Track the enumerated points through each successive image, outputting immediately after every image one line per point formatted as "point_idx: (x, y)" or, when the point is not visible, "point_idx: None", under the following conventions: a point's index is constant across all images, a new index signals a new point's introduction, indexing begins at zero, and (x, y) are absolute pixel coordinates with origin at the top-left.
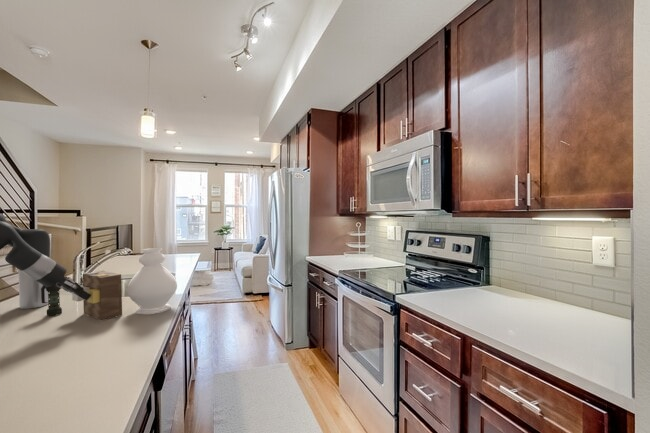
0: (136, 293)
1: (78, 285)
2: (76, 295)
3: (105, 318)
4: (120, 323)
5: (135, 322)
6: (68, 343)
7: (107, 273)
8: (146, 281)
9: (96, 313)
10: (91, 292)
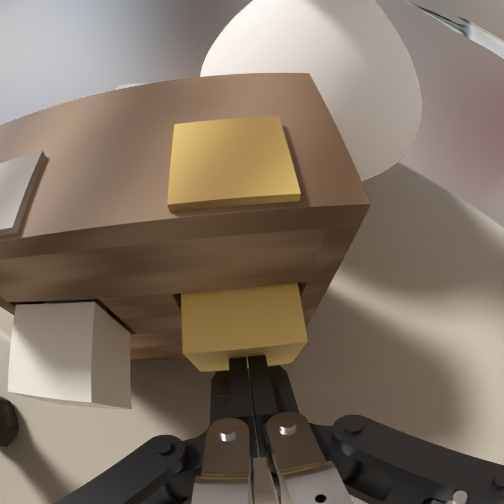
0: (388, 159)
1: (482, 466)
2: (100, 405)
3: None
4: (398, 303)
5: (422, 263)
6: None
7: (131, 108)
8: (412, 86)
9: None
10: (280, 347)
